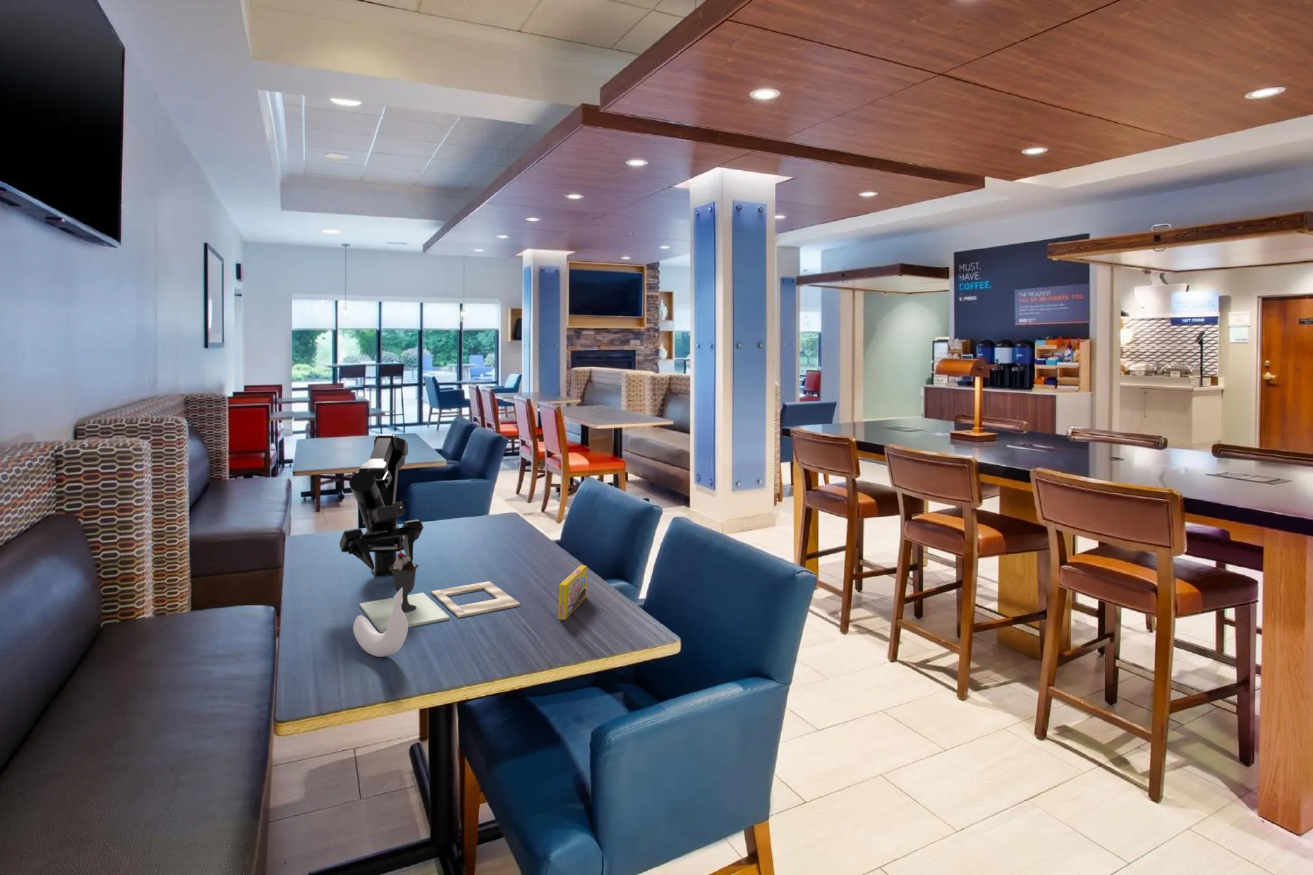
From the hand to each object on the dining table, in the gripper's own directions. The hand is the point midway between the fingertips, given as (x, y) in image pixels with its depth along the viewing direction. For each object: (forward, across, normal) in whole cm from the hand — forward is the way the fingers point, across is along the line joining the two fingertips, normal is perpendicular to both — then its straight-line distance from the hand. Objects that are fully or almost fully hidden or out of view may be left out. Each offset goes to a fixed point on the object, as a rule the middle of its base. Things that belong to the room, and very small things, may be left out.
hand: (392, 565), depth 180 cm
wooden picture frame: (+13, +16, 0) cm, 21 cm away
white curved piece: (+26, -14, -12) cm, 31 cm away
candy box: (+28, +31, -14) cm, 44 cm away
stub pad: (+12, -1, +2) cm, 12 cm away
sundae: (+11, 0, +2) cm, 11 cm away
